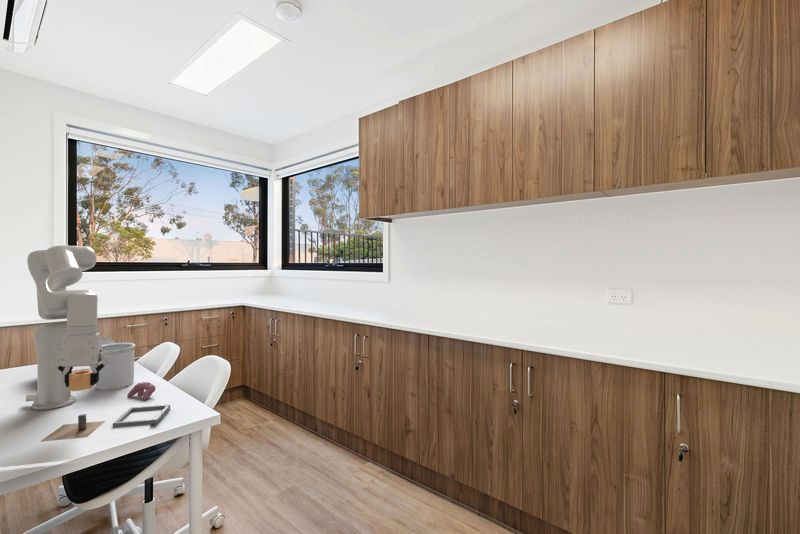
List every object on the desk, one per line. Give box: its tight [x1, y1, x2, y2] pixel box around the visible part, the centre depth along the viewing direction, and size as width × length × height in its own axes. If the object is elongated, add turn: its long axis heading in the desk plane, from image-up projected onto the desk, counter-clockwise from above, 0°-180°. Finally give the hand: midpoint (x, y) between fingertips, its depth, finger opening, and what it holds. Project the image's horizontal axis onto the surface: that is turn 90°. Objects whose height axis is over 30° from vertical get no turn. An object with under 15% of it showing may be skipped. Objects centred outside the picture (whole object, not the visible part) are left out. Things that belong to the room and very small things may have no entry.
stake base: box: [39, 413, 106, 442], centre depth 121 cm, size 12×12×6 cm
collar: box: [69, 369, 96, 392], centre depth 120 cm, size 6×8×5 cm
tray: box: [112, 404, 171, 428], centre depth 132 cm, size 13×14×2 cm
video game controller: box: [126, 381, 156, 401], centre depth 153 cm, size 10×5×7 cm, turn 72°
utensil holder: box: [94, 342, 136, 391], centre depth 166 cm, size 15×15×18 cm
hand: (82, 384), depth 121 cm, fingers closed on collar, 6 cm apart
